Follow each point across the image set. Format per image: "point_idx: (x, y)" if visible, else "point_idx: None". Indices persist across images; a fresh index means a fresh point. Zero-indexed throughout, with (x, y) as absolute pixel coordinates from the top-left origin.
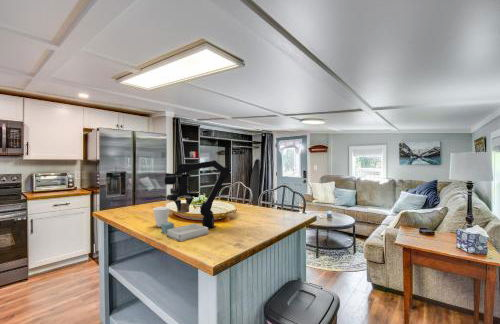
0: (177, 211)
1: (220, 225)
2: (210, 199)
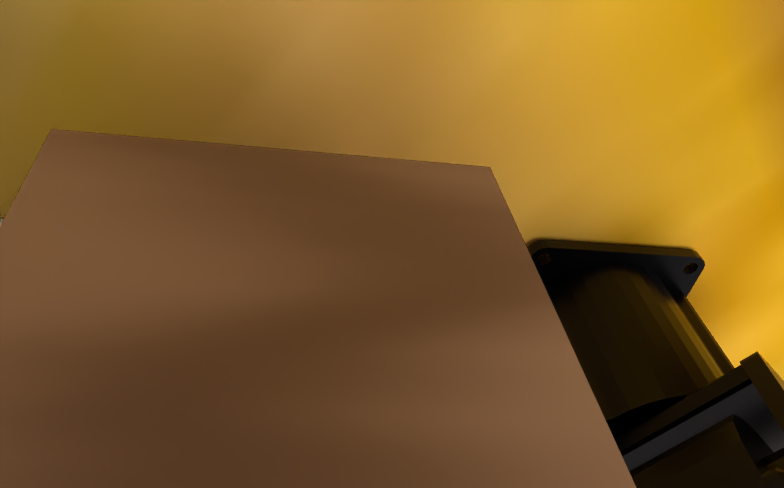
0: (46, 179)
1: (739, 351)
2: None
